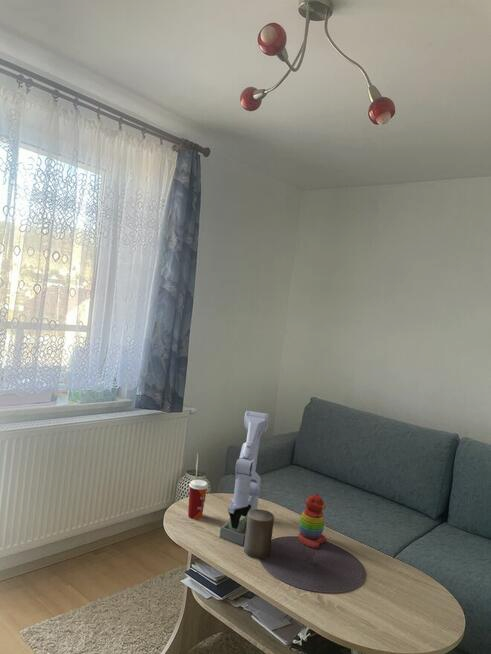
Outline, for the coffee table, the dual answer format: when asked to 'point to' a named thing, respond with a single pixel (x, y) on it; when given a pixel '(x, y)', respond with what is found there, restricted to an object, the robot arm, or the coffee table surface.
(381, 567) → the coffee table surface
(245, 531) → the walnut block
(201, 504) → the paper cup
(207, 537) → the coffee table surface
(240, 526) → the sage block
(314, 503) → the stacking bear
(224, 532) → the tray
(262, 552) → the pillar candle
